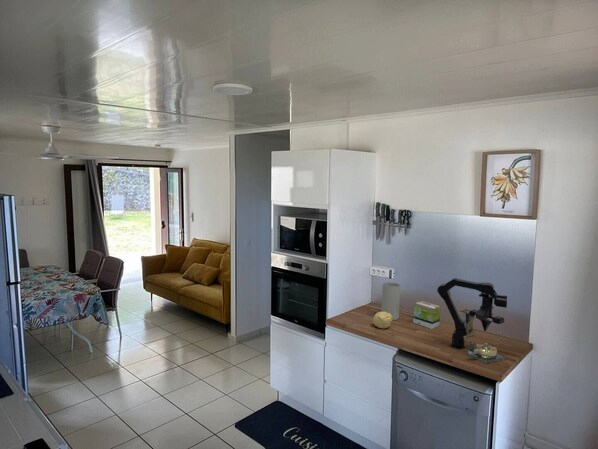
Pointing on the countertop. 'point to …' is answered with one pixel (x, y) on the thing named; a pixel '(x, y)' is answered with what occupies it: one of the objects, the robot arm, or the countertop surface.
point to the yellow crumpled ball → (382, 319)
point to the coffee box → (467, 321)
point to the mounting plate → (486, 360)
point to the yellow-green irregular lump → (483, 350)
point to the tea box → (426, 314)
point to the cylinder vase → (391, 299)
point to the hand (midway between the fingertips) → (485, 330)
